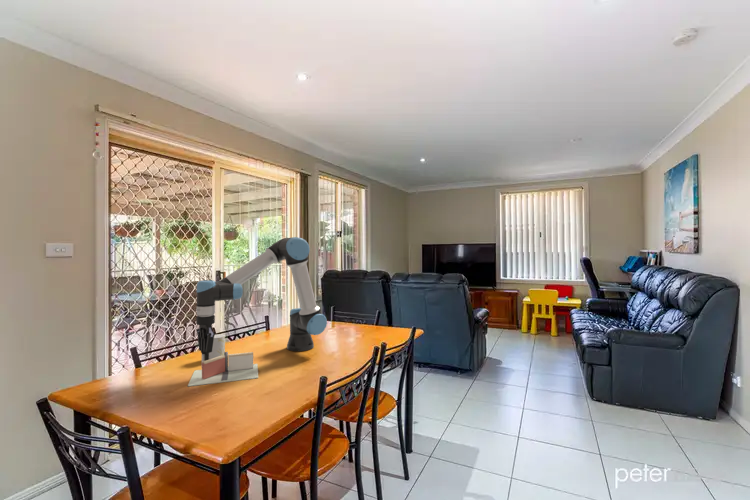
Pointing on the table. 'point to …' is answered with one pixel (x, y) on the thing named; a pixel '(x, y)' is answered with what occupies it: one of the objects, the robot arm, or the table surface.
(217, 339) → the cup
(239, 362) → the fence fixed
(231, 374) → the card
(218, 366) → the red rectangular panel
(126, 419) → the table surface
